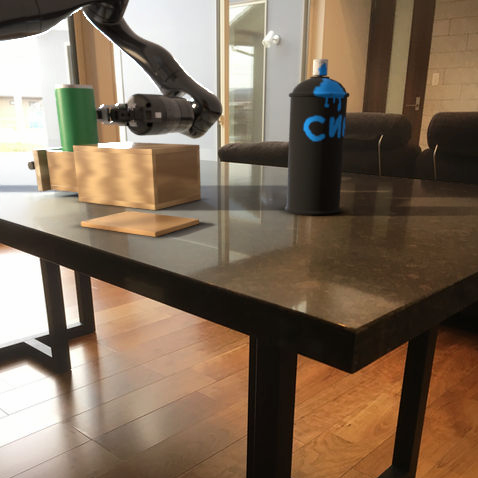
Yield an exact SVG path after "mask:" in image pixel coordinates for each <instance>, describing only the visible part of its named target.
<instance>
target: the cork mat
mask: <svg viewBox="0 0 478 478" xmlns="http://www.w3.org/2000/svg"><path fill="white" fill-rule="evenodd" d="M199 224H200V219H199V218H191V217H183V216H175V215H166V214H157V213H149V212H141V211H140V212H139V211H132V210H126V211H122V212H117V213H114V214H113V213H112V214H108V215H104V216H100V217H95V218H91V219H86V220H83V221H80V227H84V228H90V229H97V230H103V231H104V230H105V231H110V232H111V231H112V232H118V233H124V234H125V233H126V234H132V235H139V236H144V237H145V236H146V237H153V238H157V237H161V236H163V235H167V234H170V233H174V232H176V231H181V230H183V229H186V228H187V229H188V228H189V227H192V226H196V225H199Z"/></svg>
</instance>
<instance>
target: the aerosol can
mask: <svg viewBox="0 0 478 478" xmlns="http://www.w3.org/2000/svg"><path fill="white" fill-rule="evenodd" d="M328 70H329V59H328V58H314V59H313V64H312V76H310V78H307V79H305V80H303V81H301V82H299V83H298V84H297V85H295V87H294V88H293V89H292V90H291V91H292V92H289V93H288V97H289V98H290V100H289V104H290V105H289V126H288V127H289V128H288V129H289V132H288V161H287V188H286V206H285V207H284V210H285V212H287V213H290V214H295V215H302V216H331V215H336V214H339V213H340V212H341V211H342V207H340V203H341V191H342V176H343V162H344V150H345V149H344V148H345V137H346V122H347V110H348V109H347V108H348V107H347V106H348V98H349V97H350V93H349V92H347V90H346V88H345V87H344V85H343V84H342V83H341V82H339V81H337V80H335V79H332V78H330V76H328V72H329V71H328Z"/></svg>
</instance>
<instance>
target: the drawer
mask: <svg viewBox="0 0 478 478" xmlns="http://www.w3.org/2000/svg"><path fill="white" fill-rule="evenodd" d="M32 156H33V160H32V161H28V162H27V168H28V169H29V170H31V171H35V177H36V184H37V190H38V192H48V191H61V192H69V193H71V192H72V193H78V186H77V177H76V168H75V159H74V152H69V151H62V149H61V146H58V147H45V148H32Z"/></svg>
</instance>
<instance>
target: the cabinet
mask: <svg viewBox="0 0 478 478" xmlns="http://www.w3.org/2000/svg"><path fill="white" fill-rule="evenodd" d="M200 147H201V145H200V144H188V143H187V144H184V143H163V142H162V143H161V142H160V143H159V142H133V141H121V142H106V143H99V144H90V145H75V146H73V150H74V159H75V168H76V177H77V186H78V192H77V194H78V195H77V196H78V201H79V202H81V203H89V204H99V205H105V206H115V207H122V208H123V207H124V208H134V209H142V210H150V211H157V210H161V209H165V208H166V209H167V208H170V207H174V206H179V205H183V204H186V203H190V202H195V201H199V200H201V199H202V191H201V190H202V188H201V187H202V186H201V153H200V152H201V151H200V150H201V149H200Z"/></svg>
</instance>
